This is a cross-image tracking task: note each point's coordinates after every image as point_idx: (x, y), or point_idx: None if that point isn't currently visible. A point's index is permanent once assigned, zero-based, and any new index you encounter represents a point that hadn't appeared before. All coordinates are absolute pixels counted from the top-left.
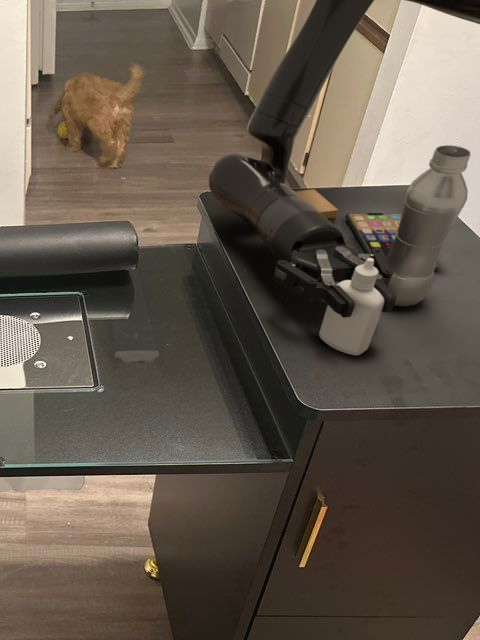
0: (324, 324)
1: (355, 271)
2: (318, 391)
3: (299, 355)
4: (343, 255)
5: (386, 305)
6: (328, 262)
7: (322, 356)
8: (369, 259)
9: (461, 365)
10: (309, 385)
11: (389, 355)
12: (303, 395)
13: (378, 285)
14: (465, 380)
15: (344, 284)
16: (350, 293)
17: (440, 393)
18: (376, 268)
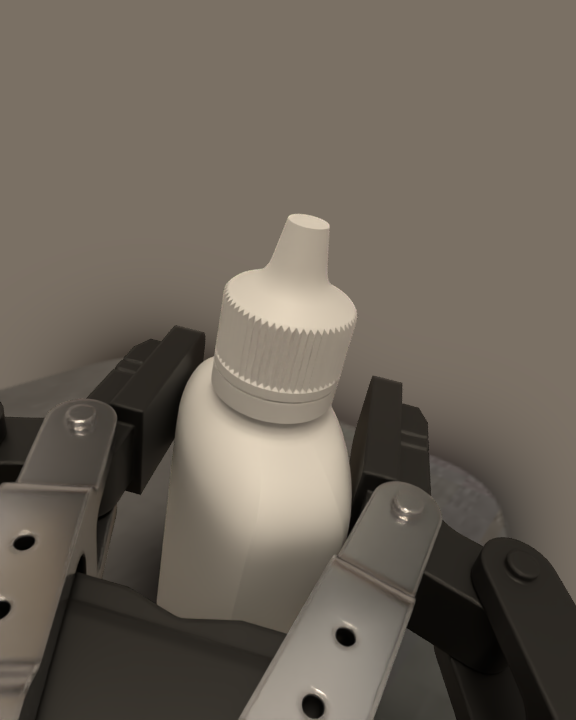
0: None
1: (352, 328)
2: (449, 505)
3: (425, 662)
4: (40, 668)
5: None
6: (285, 653)
7: None
8: (312, 224)
9: (4, 404)
10: (463, 532)
11: (127, 512)
12: (497, 513)
13: (163, 381)
14: (68, 379)
15: (323, 462)
16: (337, 419)
17: None
18: (232, 279)
